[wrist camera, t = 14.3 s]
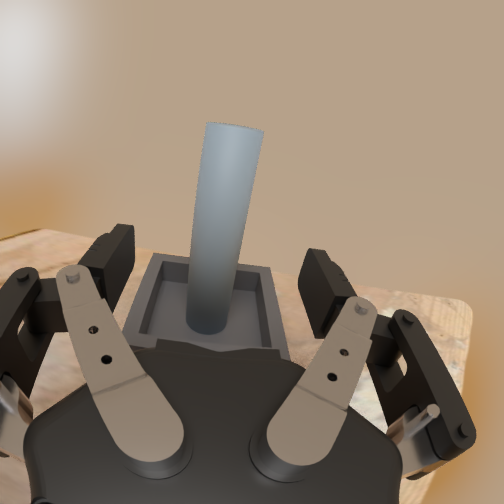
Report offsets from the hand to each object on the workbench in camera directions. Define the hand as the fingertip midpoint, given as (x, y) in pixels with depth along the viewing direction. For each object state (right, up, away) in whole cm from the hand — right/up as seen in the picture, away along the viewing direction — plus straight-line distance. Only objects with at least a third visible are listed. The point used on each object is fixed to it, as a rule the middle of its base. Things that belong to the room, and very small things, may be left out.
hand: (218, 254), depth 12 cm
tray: (-3, -6, +12) cm, 13 cm away
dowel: (-3, -6, +11) cm, 13 cm away
